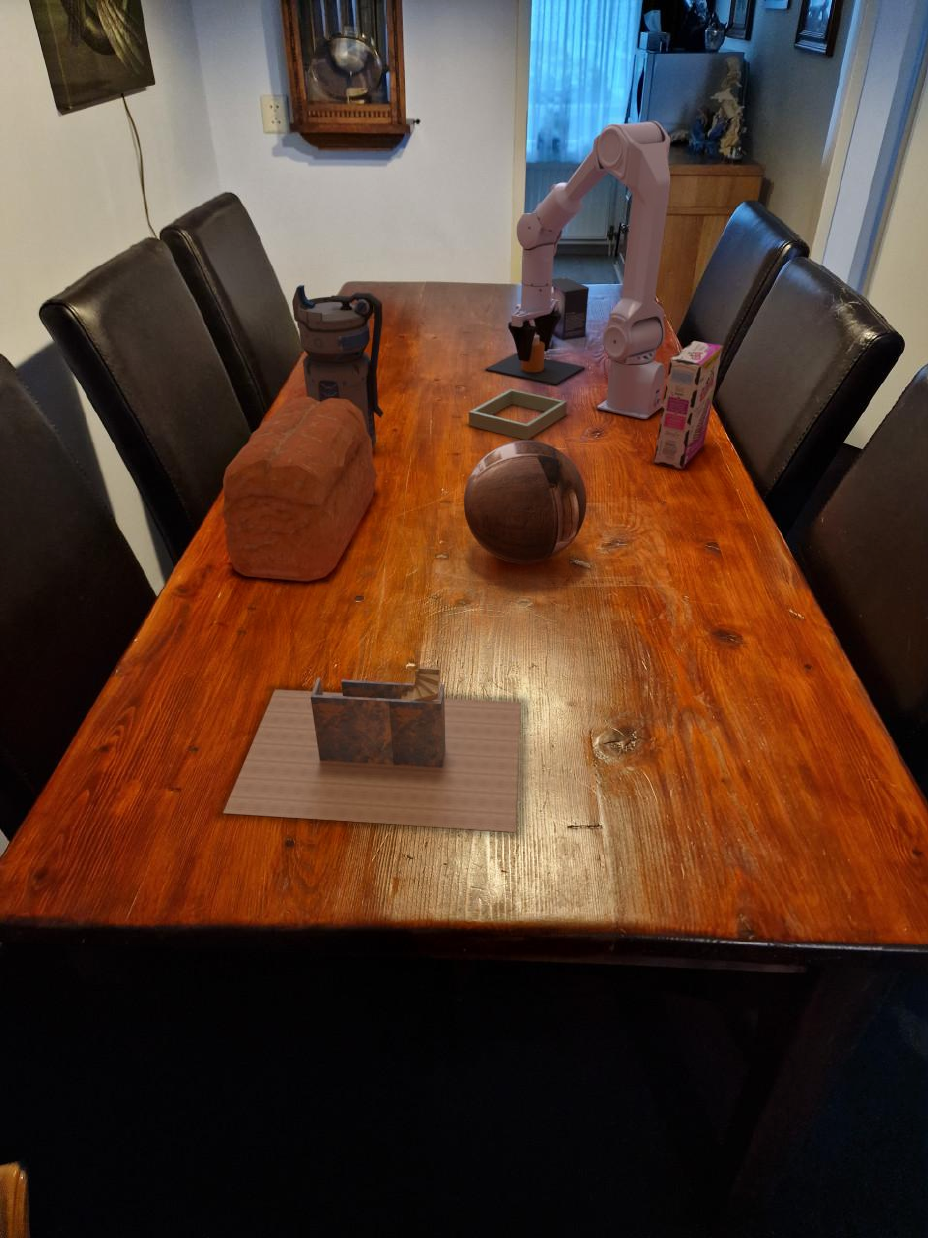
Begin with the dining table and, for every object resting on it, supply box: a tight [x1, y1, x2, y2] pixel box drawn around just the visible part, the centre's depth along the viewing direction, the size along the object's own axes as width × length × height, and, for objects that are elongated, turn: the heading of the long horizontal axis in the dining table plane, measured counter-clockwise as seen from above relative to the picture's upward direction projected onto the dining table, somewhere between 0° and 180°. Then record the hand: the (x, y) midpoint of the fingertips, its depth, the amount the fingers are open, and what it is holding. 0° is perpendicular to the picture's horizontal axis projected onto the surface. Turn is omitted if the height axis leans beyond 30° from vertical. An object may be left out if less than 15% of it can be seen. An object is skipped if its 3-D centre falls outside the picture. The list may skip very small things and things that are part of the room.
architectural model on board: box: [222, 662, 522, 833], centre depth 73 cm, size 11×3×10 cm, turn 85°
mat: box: [485, 352, 586, 386], centre depth 164 cm, size 16×12×1 cm
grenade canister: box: [291, 284, 384, 450], centre depth 124 cm, size 10×13×25 cm
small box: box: [552, 276, 590, 340], centre depth 182 cm, size 11×6×10 cm, turn 25°
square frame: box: [468, 388, 568, 441], centre depth 141 cm, size 12×14×2 cm
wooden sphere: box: [463, 440, 587, 565], centre depth 100 cm, size 15×15×15 cm
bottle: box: [521, 334, 545, 372], centre depth 161 cm, size 4×4×6 cm
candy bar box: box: [653, 340, 724, 470], centre depth 125 cm, size 11×5×16 cm, turn 149°
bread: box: [221, 396, 378, 582], centre depth 106 cm, size 14×27×15 cm, turn 171°
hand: (533, 355), depth 161 cm, fingers open, 7 cm apart
